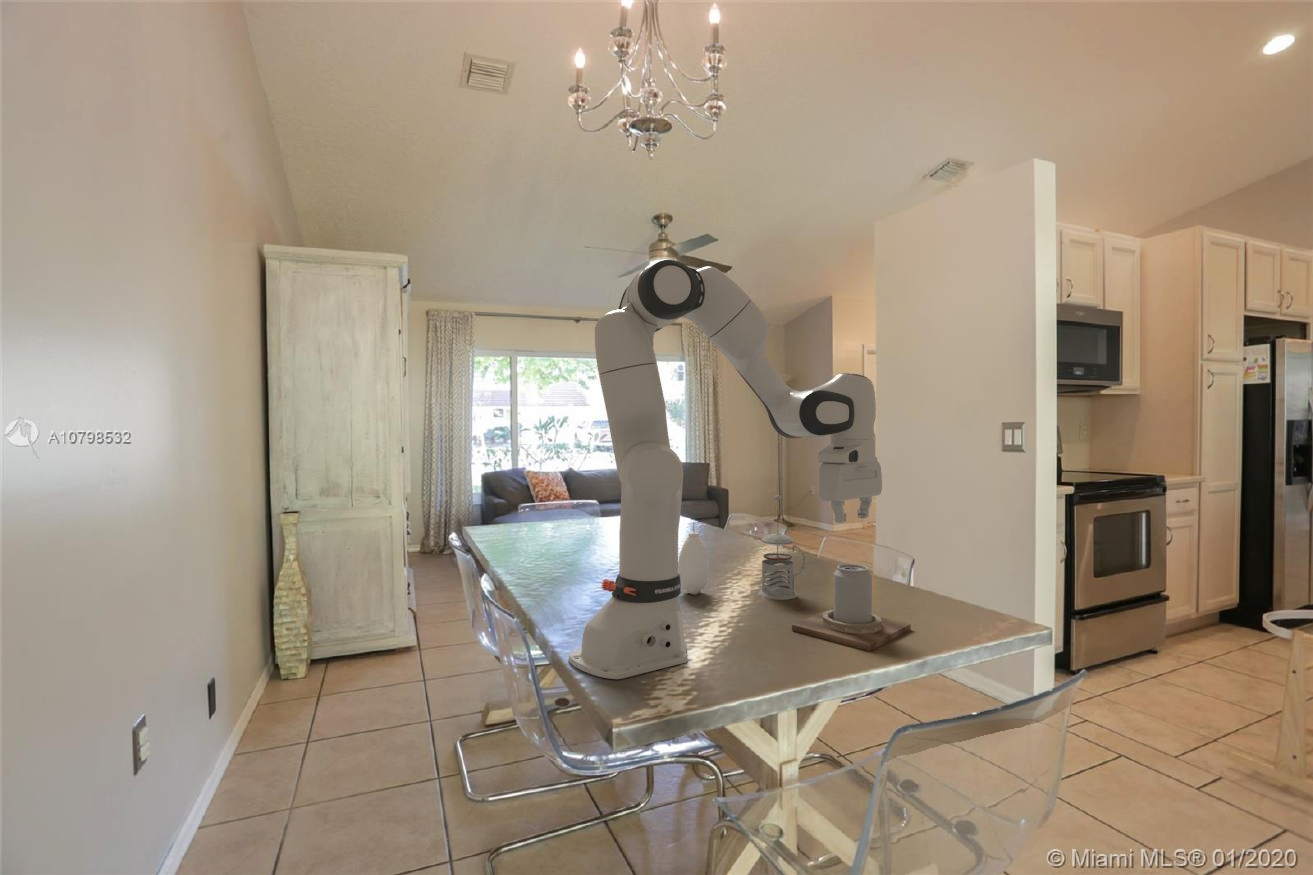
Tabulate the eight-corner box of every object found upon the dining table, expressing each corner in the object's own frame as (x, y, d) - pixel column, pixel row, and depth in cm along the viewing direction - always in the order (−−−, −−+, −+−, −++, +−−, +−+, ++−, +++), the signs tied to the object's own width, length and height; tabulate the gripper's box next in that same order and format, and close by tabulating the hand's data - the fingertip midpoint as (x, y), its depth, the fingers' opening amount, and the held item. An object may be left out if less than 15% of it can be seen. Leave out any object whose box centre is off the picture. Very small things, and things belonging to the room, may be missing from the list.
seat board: (869, 651, 116) (870, 637, 116) (791, 630, 128) (792, 617, 128) (910, 629, 129) (910, 616, 129) (836, 612, 141) (836, 600, 141)
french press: (757, 588, 162) (757, 492, 162) (802, 590, 160) (803, 493, 160) (758, 598, 152) (758, 496, 152) (806, 600, 151) (807, 497, 150)
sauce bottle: (676, 589, 161) (676, 520, 160) (705, 589, 161) (706, 519, 161) (680, 598, 153) (680, 524, 152) (711, 597, 154) (712, 524, 153)
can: (865, 618, 132) (865, 562, 132) (876, 630, 125) (877, 570, 125) (829, 618, 132) (829, 562, 132) (839, 629, 125) (839, 570, 125)
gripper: (862, 451, 138) (861, 514, 138) (813, 453, 123) (812, 523, 123) (890, 452, 133) (889, 517, 133) (842, 454, 119) (841, 527, 119)
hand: (852, 520), depth 128 cm, fingers open, 8 cm apart
